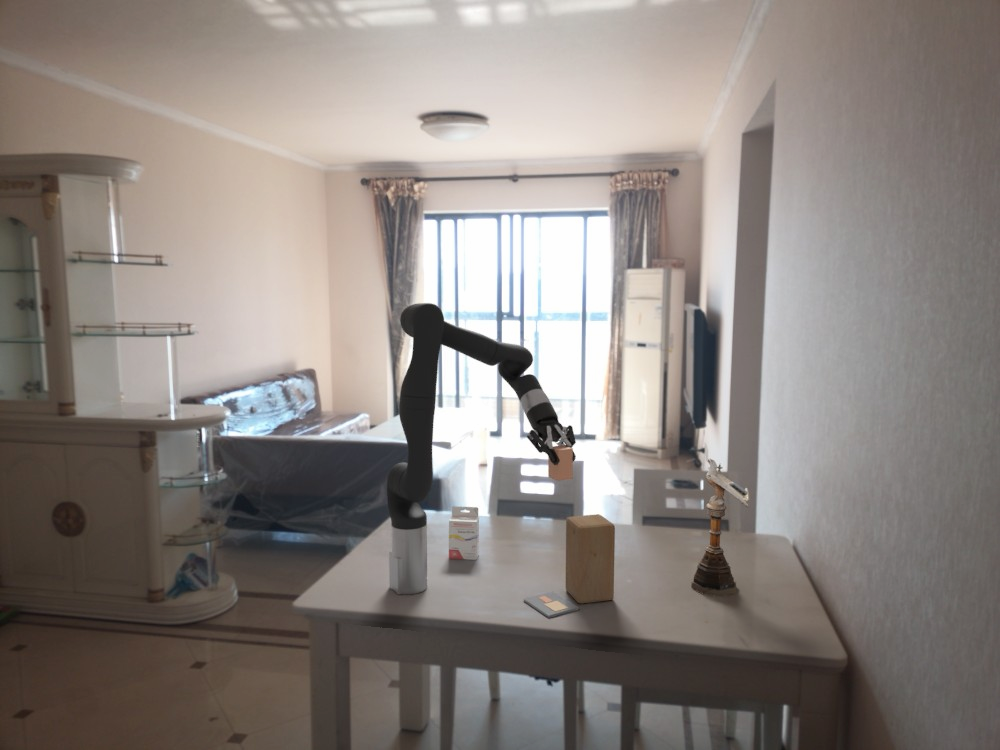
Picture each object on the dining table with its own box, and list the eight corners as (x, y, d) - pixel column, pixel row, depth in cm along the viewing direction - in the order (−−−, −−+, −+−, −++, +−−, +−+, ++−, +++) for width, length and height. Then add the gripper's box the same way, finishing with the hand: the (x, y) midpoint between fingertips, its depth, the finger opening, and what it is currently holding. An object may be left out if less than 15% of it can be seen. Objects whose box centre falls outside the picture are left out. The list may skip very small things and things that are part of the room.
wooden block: (578, 605, 174) (579, 527, 172) (564, 589, 184) (564, 515, 182) (615, 601, 177) (616, 524, 175) (599, 585, 187) (600, 512, 185)
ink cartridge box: (448, 559, 206) (448, 510, 204) (451, 553, 211) (450, 505, 209) (477, 560, 205) (477, 511, 204) (479, 554, 210) (479, 506, 208)
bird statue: (756, 582, 189) (761, 455, 185) (756, 601, 177) (761, 466, 173) (693, 574, 195) (697, 450, 191) (688, 592, 182) (692, 460, 179)
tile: (548, 617, 167) (548, 615, 167) (523, 601, 177) (523, 598, 177) (578, 609, 172) (578, 606, 172) (553, 593, 181) (553, 591, 181)
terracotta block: (558, 480, 179) (558, 450, 178) (548, 477, 183) (548, 447, 182) (572, 478, 182) (572, 448, 181) (562, 474, 185) (562, 445, 184)
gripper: (521, 403, 183) (548, 457, 174) (565, 399, 190) (593, 450, 181) (511, 420, 188) (536, 473, 179) (554, 415, 195) (580, 466, 186)
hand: (565, 461), depth 180 cm, fingers closed on terracotta block, 4 cm apart
